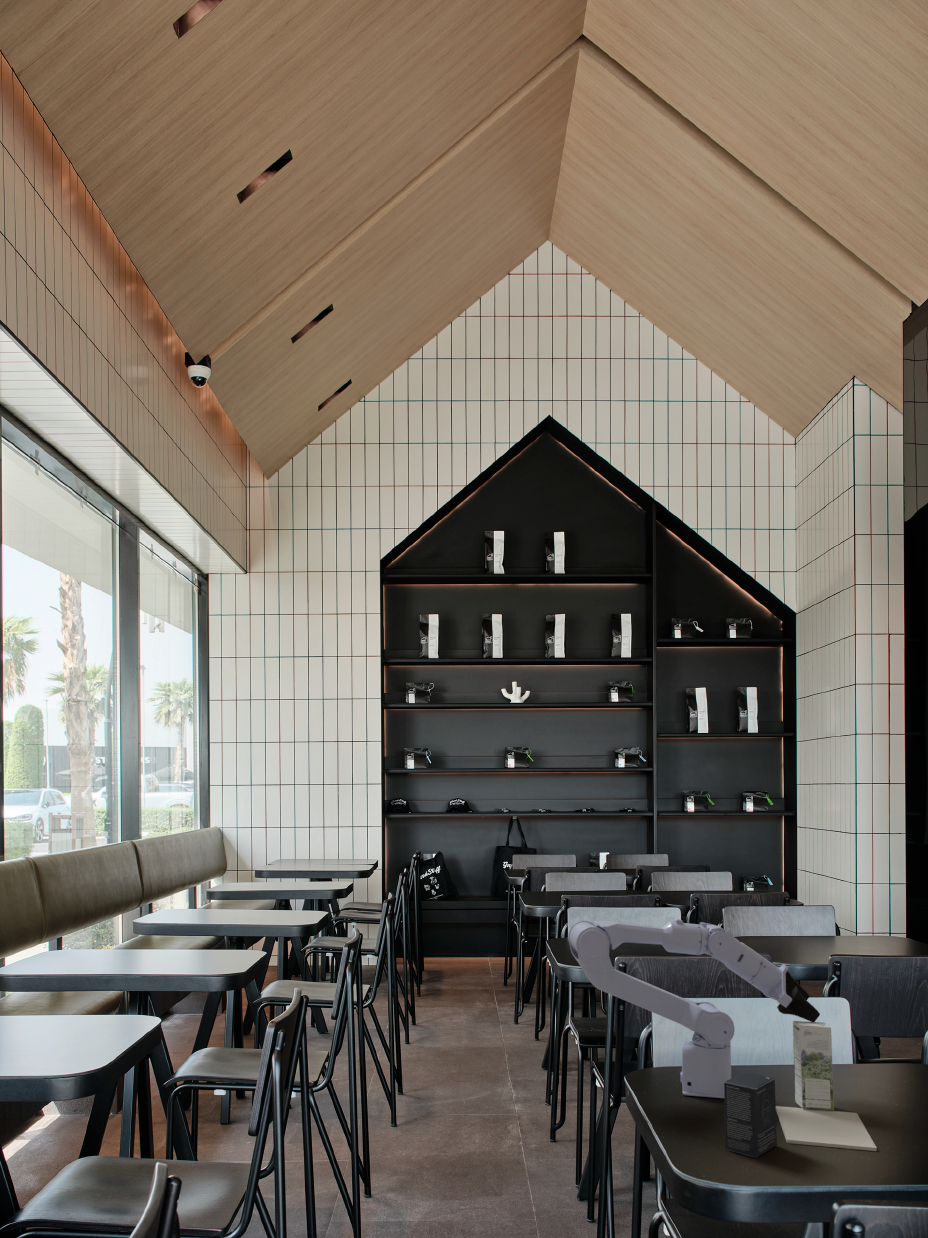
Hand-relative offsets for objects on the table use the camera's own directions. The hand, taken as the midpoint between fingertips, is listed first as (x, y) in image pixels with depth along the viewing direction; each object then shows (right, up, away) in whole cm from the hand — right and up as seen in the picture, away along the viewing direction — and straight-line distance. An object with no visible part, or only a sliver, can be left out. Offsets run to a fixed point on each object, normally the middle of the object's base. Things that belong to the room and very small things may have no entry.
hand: (811, 1008), depth 197 cm
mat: (-6, -12, -23) cm, 26 cm away
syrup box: (-4, -13, -12) cm, 19 cm away
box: (-21, -10, -33) cm, 40 cm away
